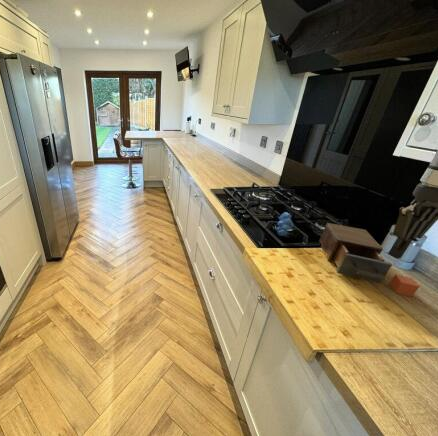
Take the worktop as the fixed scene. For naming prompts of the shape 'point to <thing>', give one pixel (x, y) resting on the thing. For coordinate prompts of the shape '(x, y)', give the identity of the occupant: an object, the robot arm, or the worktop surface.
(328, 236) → the cabinet
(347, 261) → the drawer
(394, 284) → the block
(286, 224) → the grapes
